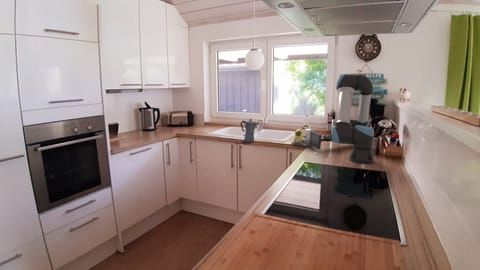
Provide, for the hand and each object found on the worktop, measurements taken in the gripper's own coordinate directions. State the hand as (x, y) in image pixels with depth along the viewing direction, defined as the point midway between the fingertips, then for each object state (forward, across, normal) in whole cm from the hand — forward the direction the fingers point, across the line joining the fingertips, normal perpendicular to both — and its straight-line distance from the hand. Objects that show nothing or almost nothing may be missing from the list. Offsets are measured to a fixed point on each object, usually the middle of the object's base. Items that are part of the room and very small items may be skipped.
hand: (317, 140), depth 211 cm
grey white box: (-1, +4, -7) cm, 8 cm away
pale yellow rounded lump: (-4, +23, -8) cm, 25 cm away
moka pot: (+26, +54, -8) cm, 60 cm away
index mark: (+9, -6, -8) cm, 13 cm away
